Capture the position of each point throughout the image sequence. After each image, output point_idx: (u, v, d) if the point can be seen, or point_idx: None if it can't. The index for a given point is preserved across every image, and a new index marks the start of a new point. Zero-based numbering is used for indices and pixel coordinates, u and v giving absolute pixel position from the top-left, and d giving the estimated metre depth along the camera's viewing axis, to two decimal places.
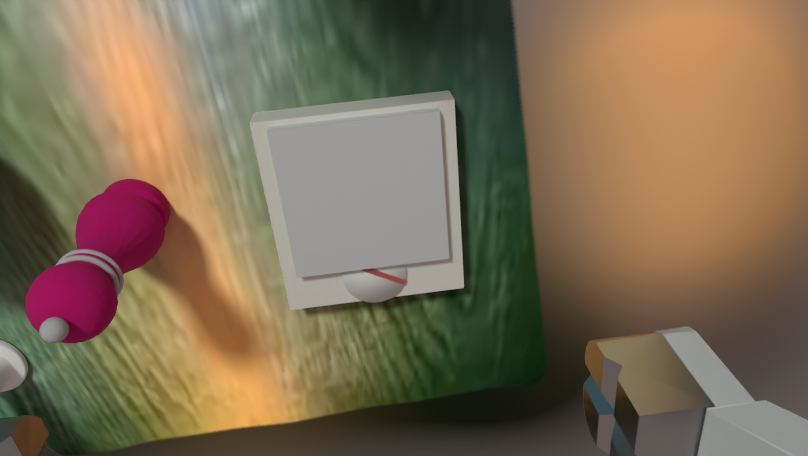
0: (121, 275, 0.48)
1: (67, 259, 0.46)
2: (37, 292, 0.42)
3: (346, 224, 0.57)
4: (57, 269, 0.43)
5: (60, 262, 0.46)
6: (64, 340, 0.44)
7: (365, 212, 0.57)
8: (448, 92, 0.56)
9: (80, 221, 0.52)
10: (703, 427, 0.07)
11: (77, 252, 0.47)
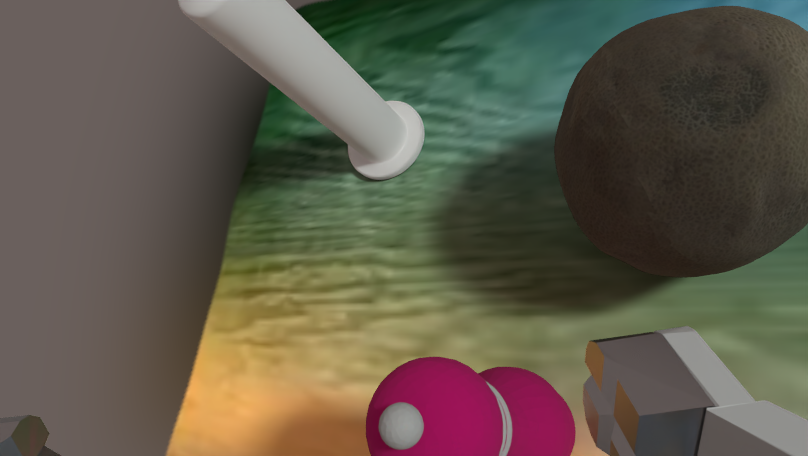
0: None
1: (503, 428, 0.28)
2: (471, 413, 0.24)
3: None
4: (497, 444, 0.25)
5: (501, 414, 0.28)
6: (378, 406, 0.26)
7: None
8: None
9: (542, 399, 0.34)
10: (703, 427, 0.07)
11: (507, 439, 0.28)
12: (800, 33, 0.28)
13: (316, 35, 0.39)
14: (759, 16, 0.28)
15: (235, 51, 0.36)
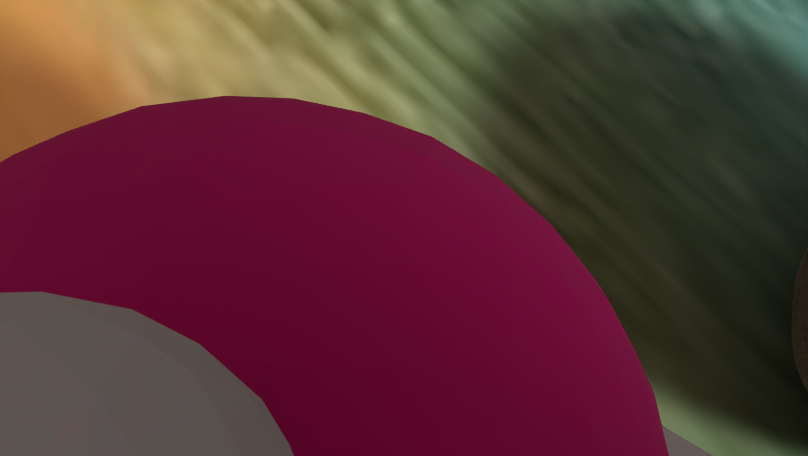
0: None
1: None
2: None
3: None
4: None
5: None
6: (70, 183, 0.03)
7: None
8: None
9: None
10: None
11: None
12: None
13: None
14: None
15: None
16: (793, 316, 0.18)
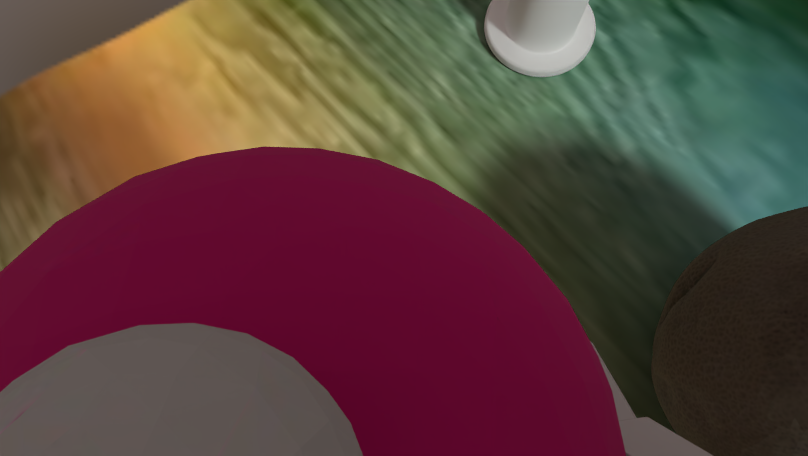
0: None
1: None
2: None
3: None
4: None
5: None
6: (158, 228, 0.04)
7: None
8: None
9: None
10: None
11: None
12: None
13: None
14: None
15: None
16: None
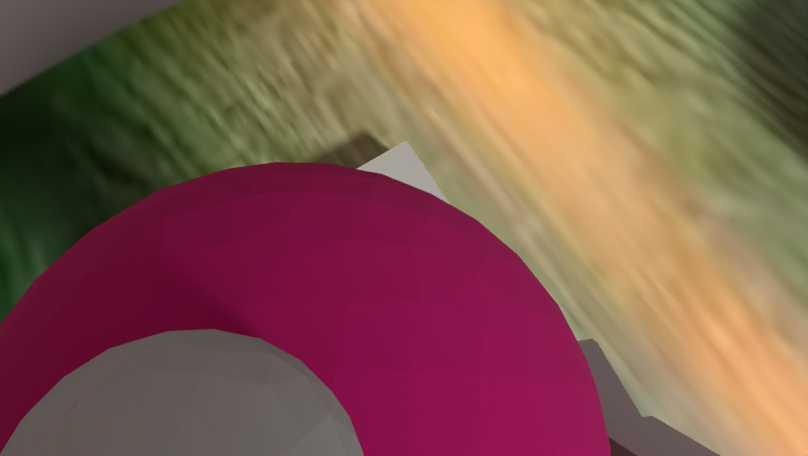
0: None
1: None
2: None
3: None
4: None
5: None
6: (180, 241, 0.04)
7: None
8: None
9: None
10: None
11: None
12: None
13: None
14: None
15: None
16: None
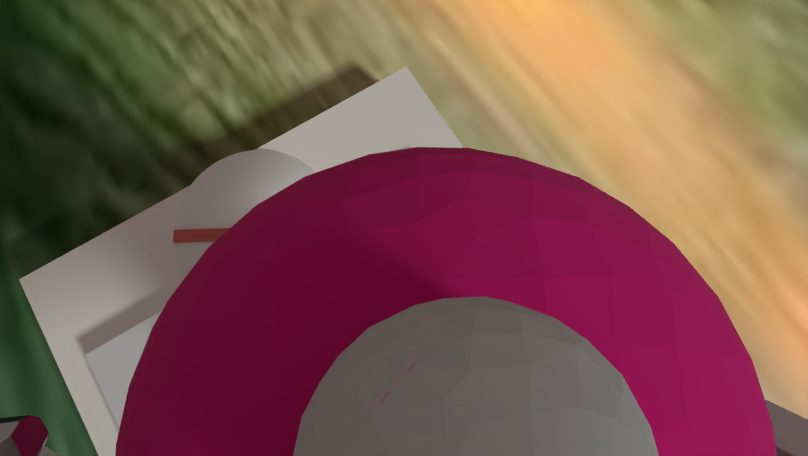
0: None
1: None
2: None
3: None
4: None
5: None
6: (364, 221, 0.05)
7: None
8: None
9: None
10: None
11: None
12: None
13: None
14: None
15: None
16: None
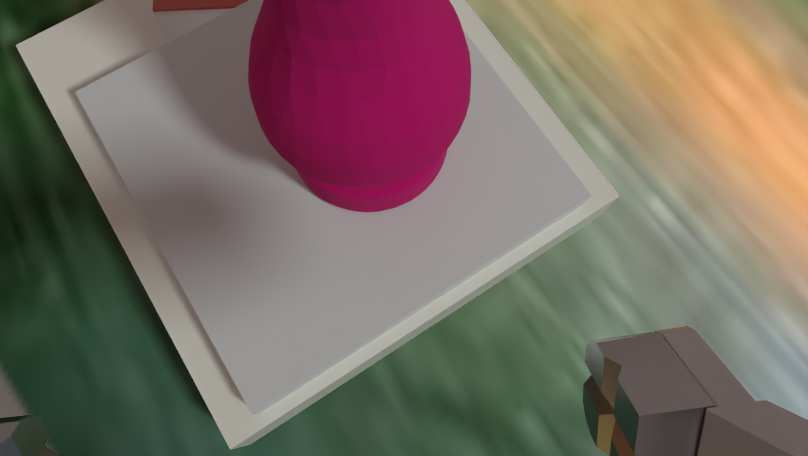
0: None
1: None
2: None
3: None
4: None
5: None
6: None
7: None
8: (249, 443, 0.24)
9: (458, 63, 0.18)
10: (703, 427, 0.07)
11: None
12: None
13: None
14: None
15: None
16: None
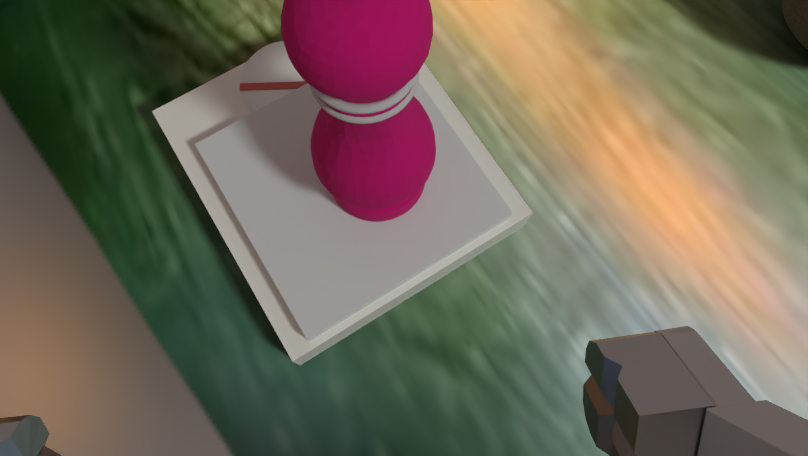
0: (314, 96, 0.27)
1: (400, 94, 0.26)
2: (409, 27, 0.22)
3: None
4: (398, 80, 0.23)
5: (410, 85, 0.26)
6: None
7: None
8: (300, 363, 0.39)
9: (426, 143, 0.33)
10: (703, 427, 0.07)
11: (393, 110, 0.27)
12: None
13: None
14: None
15: None
16: None
